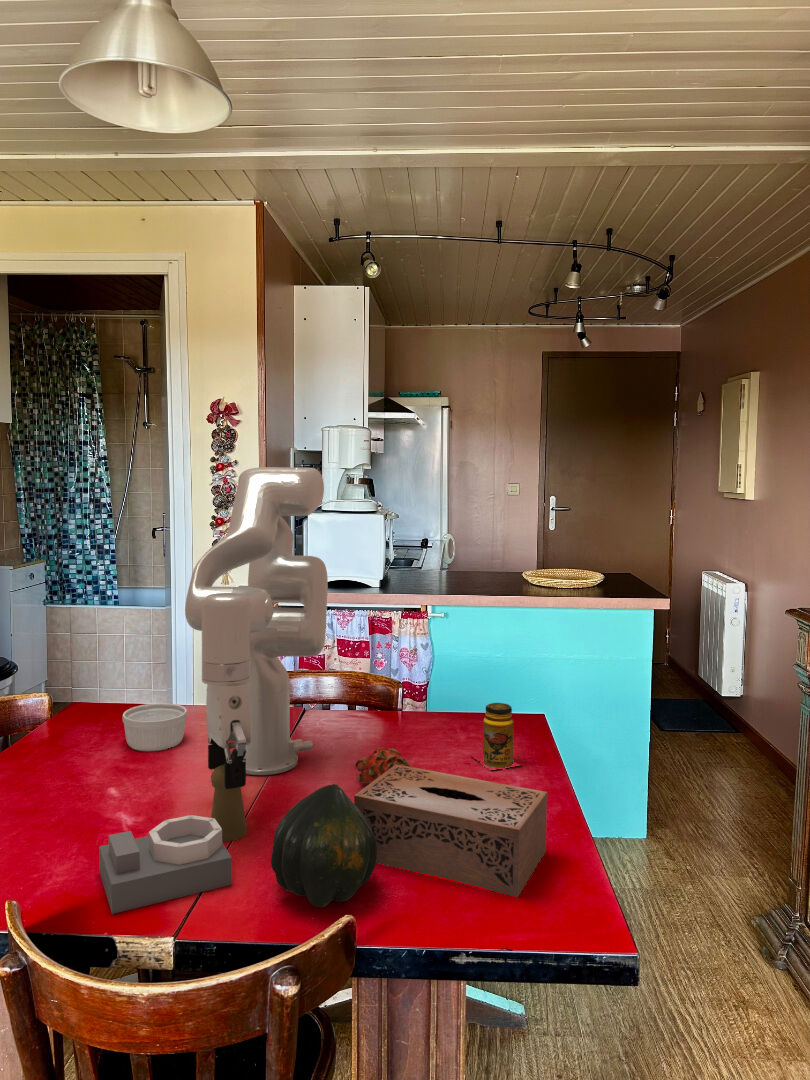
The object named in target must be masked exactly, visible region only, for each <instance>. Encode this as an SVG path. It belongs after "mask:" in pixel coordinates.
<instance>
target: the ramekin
mask: <svg viewBox="0 0 810 1080" xmlns="http://www.w3.org/2000/svg"><path fill="white" fill-rule="evenodd" d="M187 717H188V710H187V708H186V707H185V706H183V705H180V704H175V703H165V702H164V703H163V702H162V703H161V702H158V703H157V702H156V703H149V704H148V703H146V704H141V705H138V706H137V705H136V706H133V707H130V708H129V709H126V710H125V711H124V712H123V714H122V723H123V727H124V734H125V740H126V742H127V745H128V747H130V748H131V749H132V750H134V751H135V750H136V751H140V752H158V751H165V750H169V749H171V747H172V748H174V747H176V746H178V745H180V743H181V742H182V740H183V738H184V735H185V731H186V728H185V727H186V719H187ZM168 748H169V749H168Z"/></svg>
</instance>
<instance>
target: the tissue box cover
mask: <svg viewBox="0 0 810 1080" xmlns="http://www.w3.org/2000/svg"><path fill="white" fill-rule="evenodd" d="M353 798H354V799H353V800H354V801H353V803H354V804H355V805H356V806H357V807H358V808H359V810H360V811H361V812H362V814H363V815H364V816H365V818H366V820H367V822H368V824H369V826H370V828H371V830H372V832H373V834H374V837H375V840H376V845H377V859H376V864H377V863H380V864H379V865H381V864H384V865H383V866H385V865H389V866H391V867H390V868H393V867H395V868H394V869H397V868H401V869H404V870H403V871H405V870H409V871H415V872H419V873H425V874H429V875H433V876H438V877H442V878H446V879H450V880H454V881H457V882H462V883H465V884H469V885H472V886H477V887H481V888H485V889H488V890H492V891H496V892H499V893H503V894H506V895H511V896H515V897H518V896H519V894H520V893H521V894H522V892H523V891H524V889H525V888H524V886H525V885H526V886H527V884H528V883H527V881H528V879H529V878H530V876H531V875H532V876H533V874H534V873H535V871H536V870H535V868H536V867H537V868H538V866H539V865H538V863H539V862H540V863H541V861H542V860H541V858H542V857H543V856H544V857H545V855H546V853H545V852H546V850H547V849H546V848H547V817H548V815H547V814H548V813H547V809H548V792H547V791H543V790H538V789H533V788H528V787H527V788H526V787H522V786H516V785H511V784H505V783H501V782H495V781H491V780H483V779H478V778H474V777H468V776H461V775H457V774H451V773H447V772H441V771H435V770H430V769H424V768H421V767H420V768H419V767H413V766H410V767H409V766H404V765H399V764H396V765H394V766H393V767H392V768H390V769H389V770H388V771H386V772H385V773H384V774H382V775H381V776H380V777H378V778H377V779H376V780H374V781H373V782H372V783H368V784H367V785H366V786H365V787H363V788H362V789H360V790H359V791H358V792H357V793H355V794H354V795H353ZM544 854H545V855H544ZM544 857H543V858H544ZM543 858H542V859H543ZM540 860H541V861H540ZM540 863H539V864H540ZM537 865H538V866H537ZM389 866H388V867H389ZM537 868H536V869H537ZM401 869H400V870H401ZM534 870H535V871H534ZM409 871H408V872H409ZM533 872H534V873H533ZM532 873H533V874H532ZM532 876H531V877H532ZM530 879H531V878H530ZM530 879H529V880H530ZM528 882H529V881H528ZM526 883H527V884H526ZM526 886H525V887H526ZM523 888H524V889H523ZM522 890H523V891H522ZM521 891H522V892H521ZM521 894H520V895H521ZM506 895H505V896H506ZM519 897H520V896H519ZM519 897H518V898H519Z"/></svg>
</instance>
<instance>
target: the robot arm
mask: <svg viewBox="0 0 810 1080" xmlns="http://www.w3.org/2000/svg"><path fill="white" fill-rule="evenodd" d="M324 483H325V482H324V479H323V476H322V474H321V472H320V471H319V470H318V469H317V468H315V467H288V466H287V467H281V466H280V467H278V466H275V467H274V466H266V467H265V466H263V467H261V466H260V467H253V468H248V469H246V470H244V471H242V472H241V473H240V474H239V476H238V480H237V486H236V491H235V496H234V501H233V505H232V510H231V515H230V518H229V519H230V520H229V525H228V529H227V530H228V531H227V534H226V536H224V537H223V538H221V539H220V540H219V541H218V542H216V543H215V544H213V545H212V546H211V547H210V548H209V549H208V550H207V551H206V552H205V553H204V554H203V555H202V557H200V559H199V560H198V561H197V562H196V564H195V566H194V568H193V571H192V573H191V577H190V582H189V585H188V590H187V595H186V598H185V606H184V607H185V608H184V615H185V618H186V622H187V624H188V625H189V626H190V627H191V628H192V629H193V630H195V631H199V632H201V682H202V683H203V684H206V699H205V700H206V701H205V702H206V703H205V705H206V707H205V717H206V718H205V720H206V721H205V723H206V724H205V725H206V732H207V734H208V737H207V743H208V744H207V767H208V769H209V770H212V771H213V770H214V769H215V768H217V767H218V766H221V765H224V786H225V788H226V789H232V788H238V787H241V788H243V787H245V786H246V785H247V781H246V780H247V777H246V776H247V775H251V776H271V775H277V774H282V773H285V772H289V771H291V770H292V769H294V768H295V767H296V766H297V765H298V760H299V759H298V758H299V757H298V754H299V752H306V751H312V750H313V749H314V743H313V740H312V739H310V740H304V741H303V739H302V738H300V739H294V740H293V739H291V737H290V734H291V733H290V729H291V728H290V724H291V723H290V722H291V721H290V720H291V719H290V718H291V717H290V711H291V710H290V698H291V697H290V696H291V695H290V690H291V689H290V685H291V684H290V683H291V681H290V676H289V673H288V670H287V669H286V667H285V666H284V664H283V662H282V661H281V660H280V659H279V658H280V657H281V658H282V657H292V658H294V657H297V658H298V657H299V658H301V657H306V658H308V657H310V658H311V657H316V656H318V655H320V654H321V653H322V651H323V649H324V647H325V644H326V643H325V642H326V635H327V633H326V632H327V609H328V608H327V607H328V591H329V590H328V589H329V588H328V580H329V579H328V578H329V577H328V571H327V567H326V564H325V562H324V561H323V560H322V559H321V558H320V557H317V556H313V555H293V551H294V550H293V547H294V534H293V530H292V529H291V527H290V526H289V524H288V523H287V521H286V520H285V519H284V517H305V516H310V515H311V514H313V513H314V512H315V511H316V510H317V509H318V508H319V507H320V505H321V504H322V501H323V498H324V492H325V484H324ZM248 564H249V565H248ZM245 565H248V575H247V576H248V578H247V587H246V586H244V587H243V586H242V587H241V586H239V587H238V586H237V587H236V586H214V584H215V583H216V581H217V580H218V579H219V578H220V577H222V576H223V575H224V574H226V573H229V572H230V571H232V570H234V569H238V568H239V567H242V566H245ZM274 603H287V604H288V603H293V604H294V603H295V604H302V605H303V607H274ZM231 750H232V752H231Z"/></svg>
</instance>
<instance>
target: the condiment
mask: <svg viewBox="0 0 810 1080" xmlns="http://www.w3.org/2000/svg"><path fill="white" fill-rule="evenodd" d="M512 710H513V708H512V706H511V705H510V704H507V703H504V702H493V703H492V702H491V703H488V704H486V705H485V713H484V714H485V717H484V718H483V727H482V731H483V732H482V734H483V735H482V737H483V738H482V755H483V761H484V762H483V763H484V764H485V765H487V766H489V767H495V768H505V767H509V766H511V765H512V764H513V760H514V719H513V718H512V717H513V714H512V713H513V711H512Z"/></svg>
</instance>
